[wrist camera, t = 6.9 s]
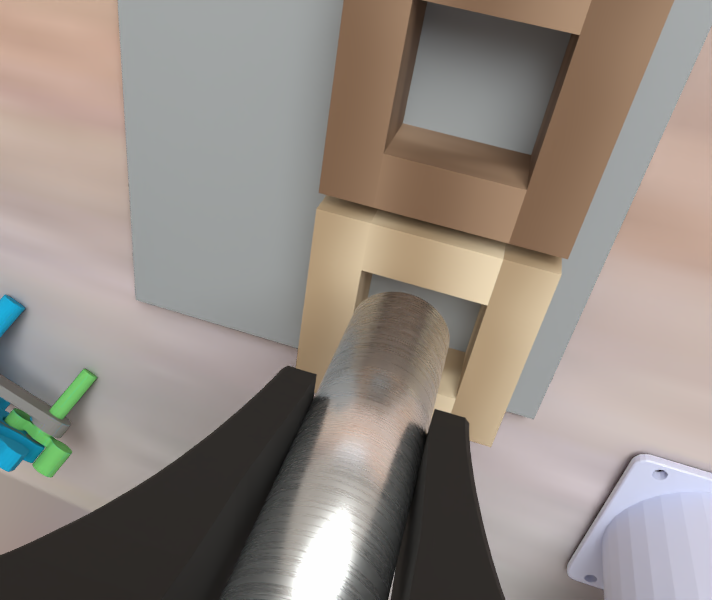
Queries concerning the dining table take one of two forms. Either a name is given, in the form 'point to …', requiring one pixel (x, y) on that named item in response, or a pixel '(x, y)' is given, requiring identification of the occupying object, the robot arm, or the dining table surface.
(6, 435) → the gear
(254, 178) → the board
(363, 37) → the block walnut
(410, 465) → the pin
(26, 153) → the dining table surface
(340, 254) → the block birch
